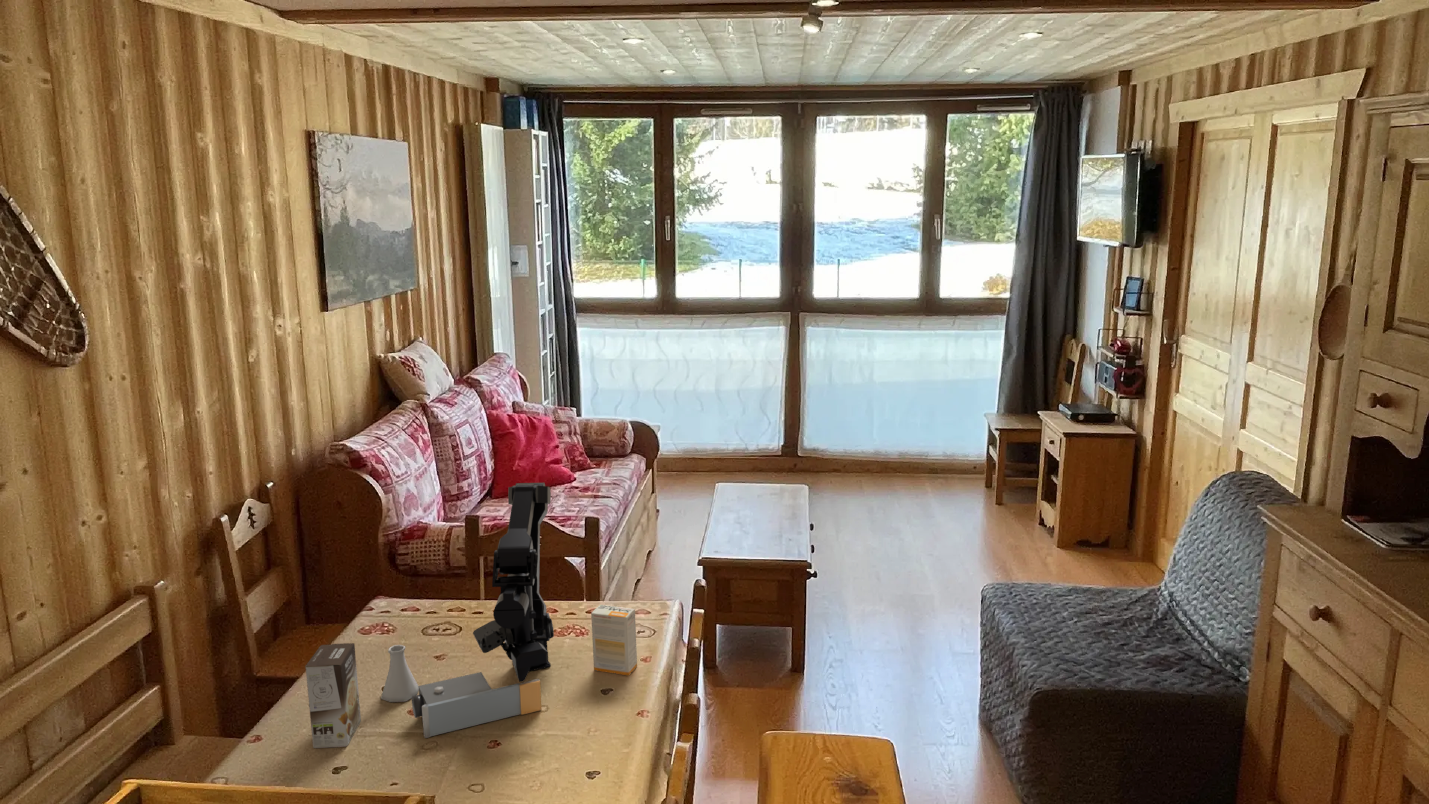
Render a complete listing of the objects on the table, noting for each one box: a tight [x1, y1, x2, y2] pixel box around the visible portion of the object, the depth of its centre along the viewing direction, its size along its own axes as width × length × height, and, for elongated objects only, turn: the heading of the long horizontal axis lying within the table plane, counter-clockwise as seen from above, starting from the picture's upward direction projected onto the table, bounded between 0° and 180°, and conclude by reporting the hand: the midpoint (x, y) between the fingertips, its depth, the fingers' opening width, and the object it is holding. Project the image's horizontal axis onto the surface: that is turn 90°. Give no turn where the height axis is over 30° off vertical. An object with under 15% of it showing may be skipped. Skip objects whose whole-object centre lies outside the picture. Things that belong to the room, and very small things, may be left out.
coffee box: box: [304, 642, 362, 749], centre depth 182 cm, size 9×6×16 cm
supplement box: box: [590, 604, 638, 677], centre depth 207 cm, size 8×5×13 cm, turn 71°
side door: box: [421, 678, 543, 739], centre depth 186 cm, size 22×1×6 cm, turn 117°
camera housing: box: [411, 671, 493, 720], centre depth 188 cm, size 14×8×7 cm, turn 117°
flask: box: [380, 644, 420, 703], centre depth 197 cm, size 7×7×10 cm
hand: (521, 680), depth 195 cm, fingers closed
